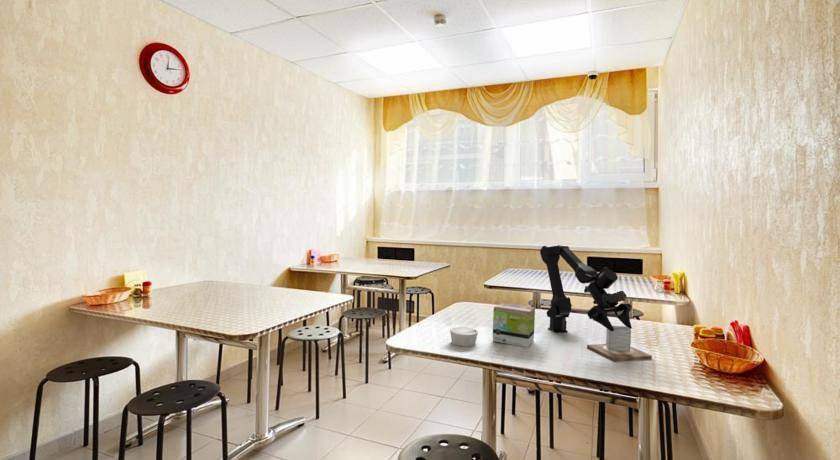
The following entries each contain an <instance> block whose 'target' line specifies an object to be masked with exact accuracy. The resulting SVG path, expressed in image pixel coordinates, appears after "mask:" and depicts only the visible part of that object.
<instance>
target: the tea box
mask: <svg viewBox="0 0 840 460" xmlns="http://www.w3.org/2000/svg"><path fill="white" fill-rule="evenodd" d="M535 315H536V307H535V306H527V305H520V304H519V305H518V304H513V303H504V302H500V303H498V304H497V305H495V306H494V307H493V316H492V317H493V318H492V342H494V343H495V342H497V343H502V344H508V345H513V346H517V347H523V348H527V349H528V348H529V347H530V346H531V344H532V343H533V342H534V341H535V340H534V339H535V338H534V337H535V322H536V321H535V319H536V317H535Z"/></svg>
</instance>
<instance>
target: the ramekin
mask: <svg viewBox="0 0 840 460" xmlns="http://www.w3.org/2000/svg"><path fill="white" fill-rule="evenodd" d="M449 334H450V338H451V339H450V341H451V342H452V344H453V345H455V346H457V347H464V348H465V347H473V346H474V345H476V341H477V338H478V334H479V332H478V330H477V329H475V328H471V327H467V326H456V327H452V328H450V330H449Z"/></svg>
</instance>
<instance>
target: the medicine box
mask: <svg viewBox="0 0 840 460" xmlns="http://www.w3.org/2000/svg"><path fill="white" fill-rule="evenodd" d="M612 326H613V328H614V331H613V332H612V331H610V330H609V329H607V328H606V330H605V331H606V332H605V333H606V335H605V336H606V337H605V340H606V341H605V344H606V347H607V349H608V350H614V351H627V352H630V346H631V343H632V341H631V340H632V338H631V337H632V329H630V328H629V327H626V326H625V325H624V326H623V325H621V326H620V325H612Z"/></svg>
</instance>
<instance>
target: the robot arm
mask: <svg viewBox="0 0 840 460" xmlns="http://www.w3.org/2000/svg"><path fill="white" fill-rule="evenodd" d="M539 253H540V257H541V260H542V262H543V263H544V264H545V265H546V267H547V273H548V278H549V283H550V288H551V289H550V290H551V292H552V298H551V301H550V308H549V309H547V310H546V317H548V318H549V327H547V329H548V330H550V331H551V332H554V333H567V332H568V330H567V318H569V317H570V314H571V312H572V307H573V304H572V302H571V298H570V297H567V296H566V295H565V292H564V288H563V282H562V277H561V272H560V268H559V261H560V259H561V258H562V259H563V261H565V262H566V263H567V265H569V267H570V268H571V269H572V270H573V271H574V276H575V278H576V279H577V280H578V282H579V283H580V284H588V285H585V286H584V290H583V293H585V294H586V293H589V294H590V295H591V297H592V298H593V301H592V303H593V304H594V305H593V306H592V307H591V308H590V309H589V310H588V311H587V317H588V319H589V320H592V321H593V322H596V323H597V324H600V325H601V326H603V327H604V328H606V330H607V329H609V330H610V331H612V332H613V331H614V328H613V326H614V325H612V323H611V320H610V319H609V318H608V314H612V313H614V315H615V316H617V319H618V320H619V321H620V322H621V323H622V325H624V327H629V328H630V330H632V328H633V326H632V324H631V323H632V322H631V320H630V315H629V314H630V312H631V311H632V309H633V306H632V304H630V302H625V301H626V299H627V294H626V292H624V290H619V291H616V292H614V293H610V292H609V293H608V292H607V291H606V290H608V289H609V288H610V287H611V286H613V284H615V282H617V281H618V279H619V277H618V275H617V273H616V272H614V271H613V270H612V269H609V267H608V266H607V267H603V268H602V269H601V270H600V271H599V272H597V270H595V269H594V268H593V267H592V266H589V265H587V264H585V263H584V262H583V261H582V260H581V259H580V258H579V257H578V255H576V254H575V253H574V252H573V251H572V250H571V249H570V247H569V246H568V245H567V244H558V245H543V246H542V247H540V250H539ZM621 302H622V303H621ZM619 303H620V304H619ZM618 304H619V305H618Z"/></svg>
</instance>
